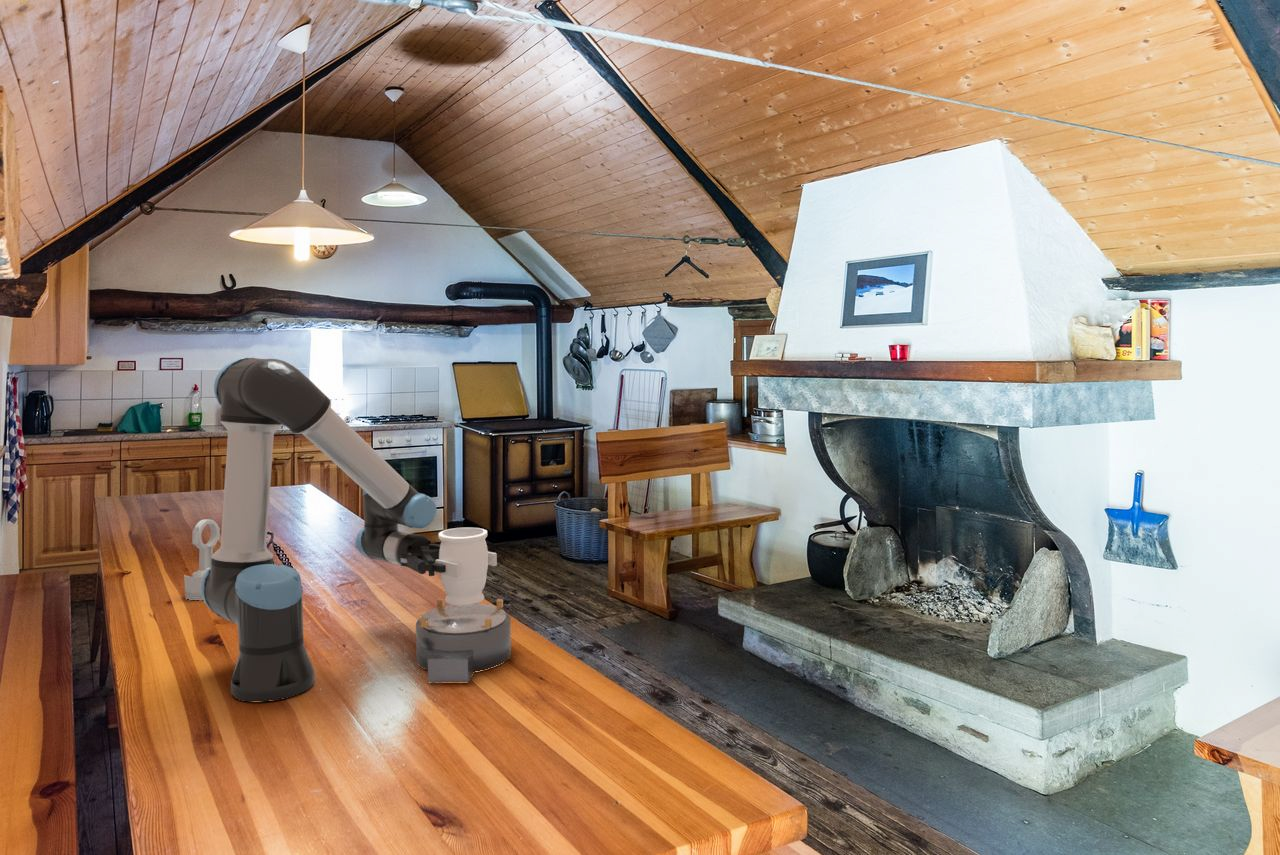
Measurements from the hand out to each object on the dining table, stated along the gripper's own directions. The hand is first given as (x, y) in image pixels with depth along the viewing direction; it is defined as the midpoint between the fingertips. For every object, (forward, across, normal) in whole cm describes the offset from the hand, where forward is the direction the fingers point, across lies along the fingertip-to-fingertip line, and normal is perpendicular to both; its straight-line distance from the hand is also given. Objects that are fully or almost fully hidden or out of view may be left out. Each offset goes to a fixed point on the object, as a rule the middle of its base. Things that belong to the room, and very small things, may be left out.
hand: (477, 565), depth 178 cm
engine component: (-94, +10, -21) cm, 97 cm away
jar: (-4, 0, -9) cm, 10 cm away
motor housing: (-3, +2, -21) cm, 21 cm away
